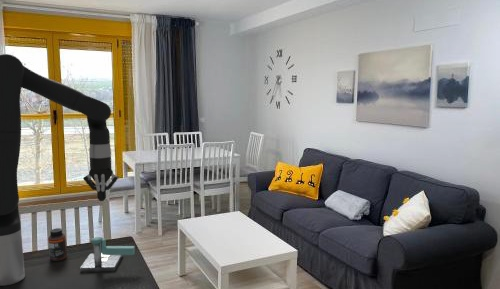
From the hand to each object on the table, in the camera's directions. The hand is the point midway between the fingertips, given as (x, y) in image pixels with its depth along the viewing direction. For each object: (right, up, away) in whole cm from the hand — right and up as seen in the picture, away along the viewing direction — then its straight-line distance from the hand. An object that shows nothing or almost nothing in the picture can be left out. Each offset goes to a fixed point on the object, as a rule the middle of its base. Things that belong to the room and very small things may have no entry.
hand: (102, 200), depth 151 cm
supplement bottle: (-17, -22, +1) cm, 28 cm away
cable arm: (+7, -18, -8) cm, 21 cm away
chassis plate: (+1, -23, -3) cm, 23 cm away
